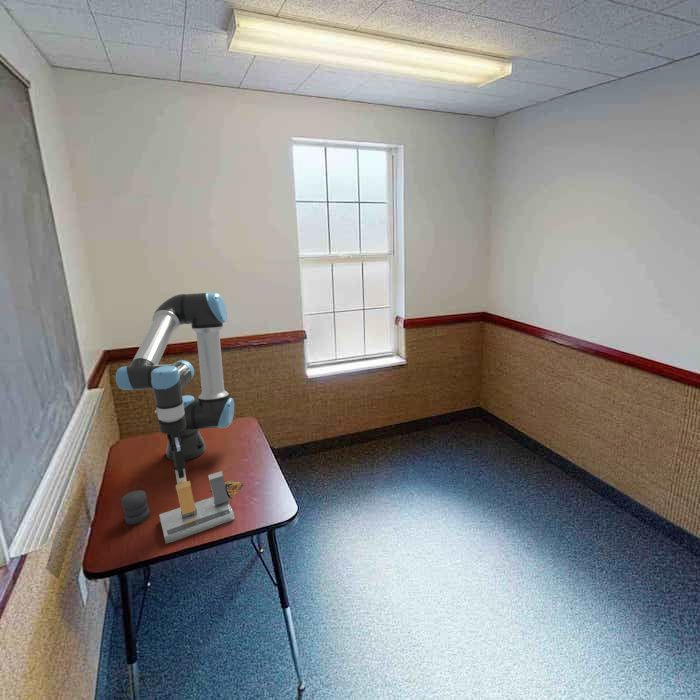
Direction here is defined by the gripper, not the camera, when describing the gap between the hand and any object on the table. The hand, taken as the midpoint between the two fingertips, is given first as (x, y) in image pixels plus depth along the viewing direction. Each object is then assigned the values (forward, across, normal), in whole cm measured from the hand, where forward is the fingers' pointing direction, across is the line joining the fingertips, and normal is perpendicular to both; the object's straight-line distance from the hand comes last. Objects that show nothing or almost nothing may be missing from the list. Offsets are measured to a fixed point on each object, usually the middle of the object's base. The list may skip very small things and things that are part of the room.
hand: (182, 484), depth 133 cm
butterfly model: (+11, -5, +15) cm, 19 cm away
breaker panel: (+9, +7, +2) cm, 12 cm away
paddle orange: (+7, +7, 0) cm, 10 cm away
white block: (+7, +7, +10) cm, 14 cm away
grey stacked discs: (+10, -5, -14) cm, 18 cm away
